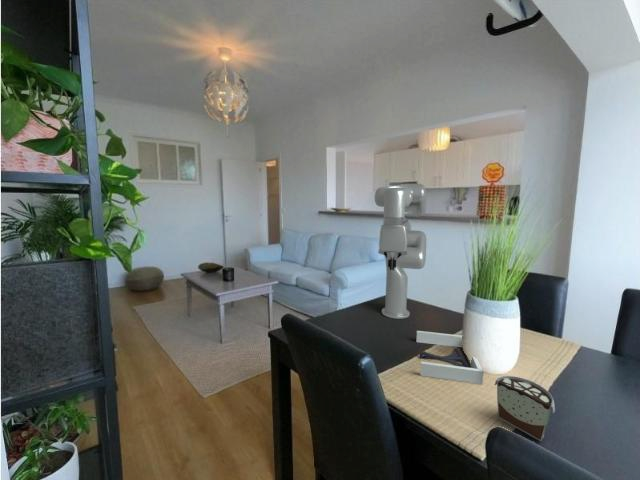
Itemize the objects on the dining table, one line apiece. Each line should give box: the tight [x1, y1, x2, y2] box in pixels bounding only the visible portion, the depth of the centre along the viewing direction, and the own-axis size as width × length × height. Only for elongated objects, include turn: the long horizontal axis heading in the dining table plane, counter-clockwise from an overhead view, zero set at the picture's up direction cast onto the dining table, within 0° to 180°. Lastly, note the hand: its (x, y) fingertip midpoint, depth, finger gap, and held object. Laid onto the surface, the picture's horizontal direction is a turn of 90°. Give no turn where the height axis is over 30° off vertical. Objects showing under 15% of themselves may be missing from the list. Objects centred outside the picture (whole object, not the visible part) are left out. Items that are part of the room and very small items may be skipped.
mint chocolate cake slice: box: [494, 375, 556, 443], centre depth 73 cm, size 12×6×10 cm, turn 35°
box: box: [416, 330, 484, 385], centre depth 102 cm, size 23×17×4 cm
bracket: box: [419, 347, 471, 368], centre depth 102 cm, size 14×15×3 cm
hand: (391, 269), depth 117 cm, fingers closed
